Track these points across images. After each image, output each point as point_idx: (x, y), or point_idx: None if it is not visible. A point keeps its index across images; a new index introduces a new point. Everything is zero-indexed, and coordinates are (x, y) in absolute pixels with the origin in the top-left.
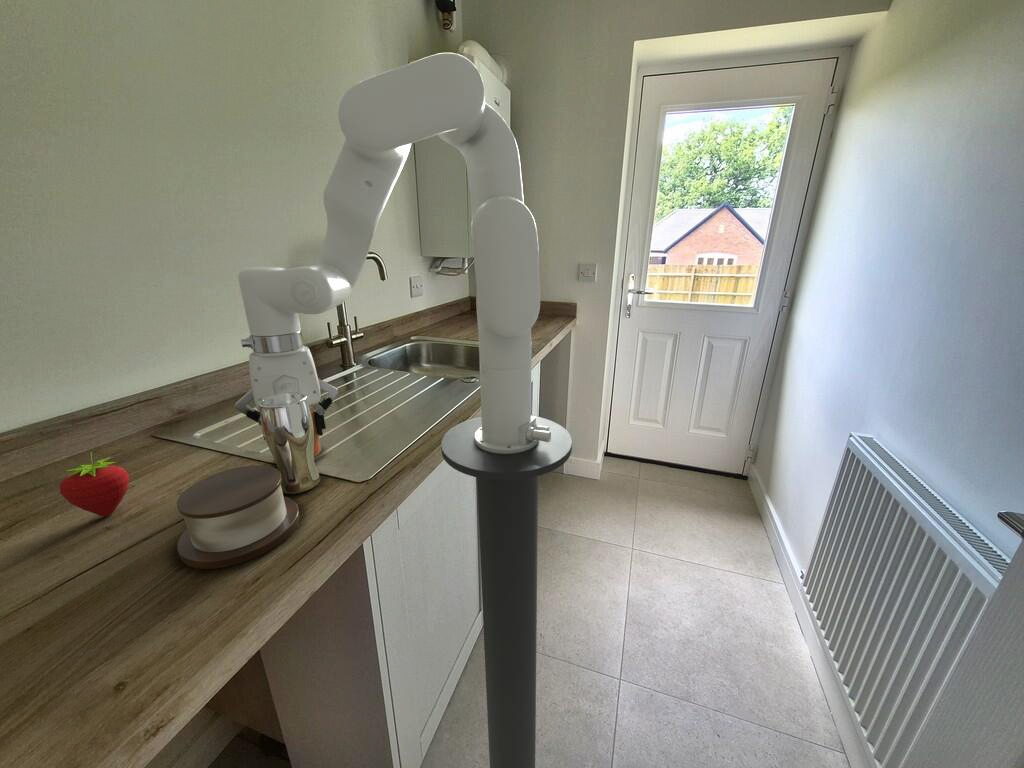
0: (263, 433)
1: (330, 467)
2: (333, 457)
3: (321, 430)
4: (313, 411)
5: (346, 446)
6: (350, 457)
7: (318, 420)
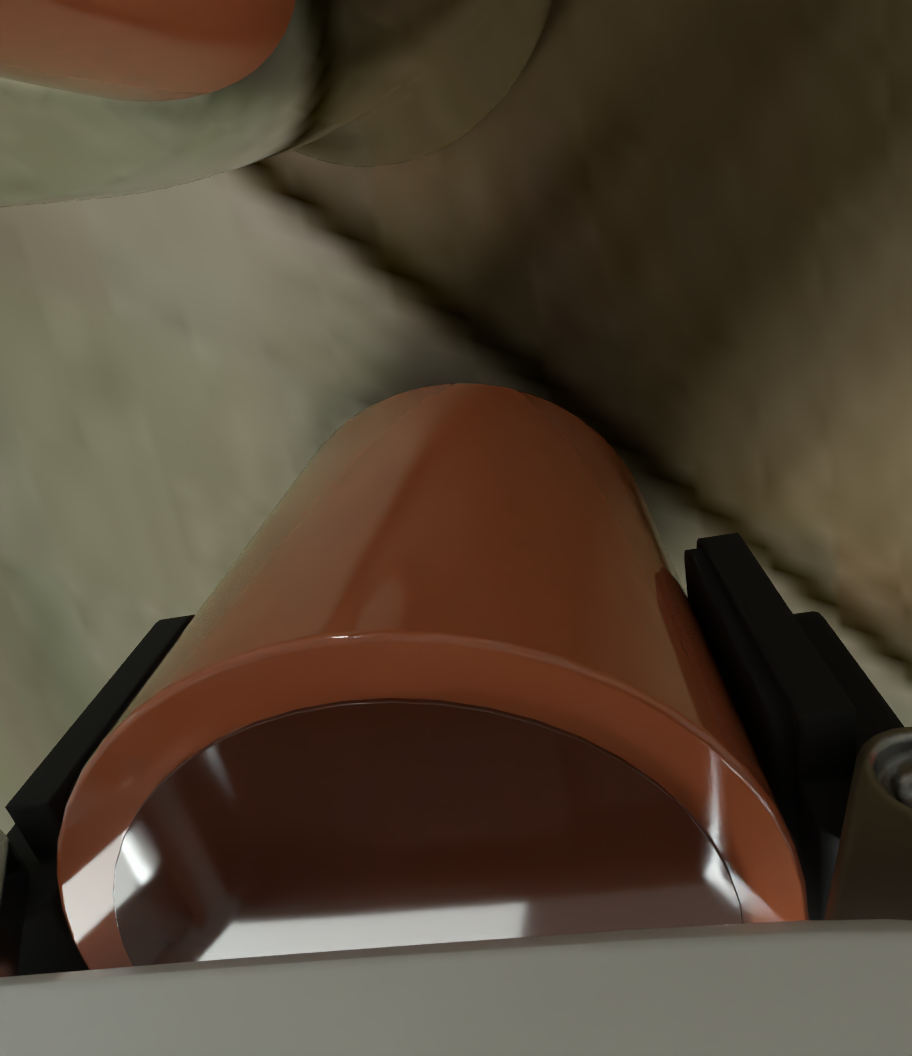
0: (847, 662)
1: (146, 250)
2: (177, 450)
3: (140, 651)
4: (66, 914)
5: (124, 617)
6: (19, 402)
7: (72, 747)
